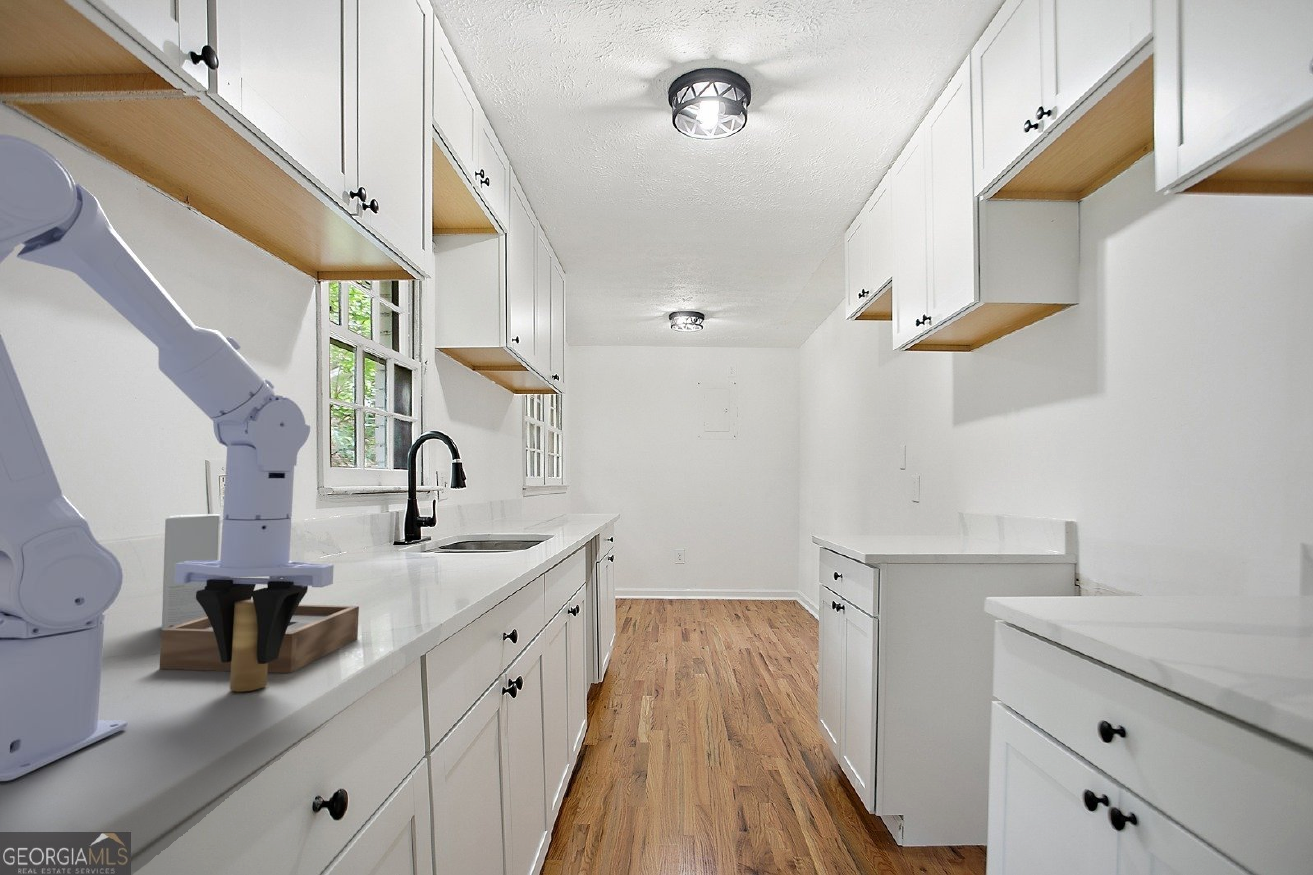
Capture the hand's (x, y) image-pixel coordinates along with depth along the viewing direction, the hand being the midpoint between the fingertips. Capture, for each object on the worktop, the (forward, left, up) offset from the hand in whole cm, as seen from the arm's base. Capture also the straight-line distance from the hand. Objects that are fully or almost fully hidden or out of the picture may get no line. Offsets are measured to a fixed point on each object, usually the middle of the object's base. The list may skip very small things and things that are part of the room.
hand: (250, 660), depth 62 cm
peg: (0, 0, -2) cm, 2 cm away
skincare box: (+22, +23, -3) cm, 32 cm away
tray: (+12, +6, -3) cm, 14 cm away
